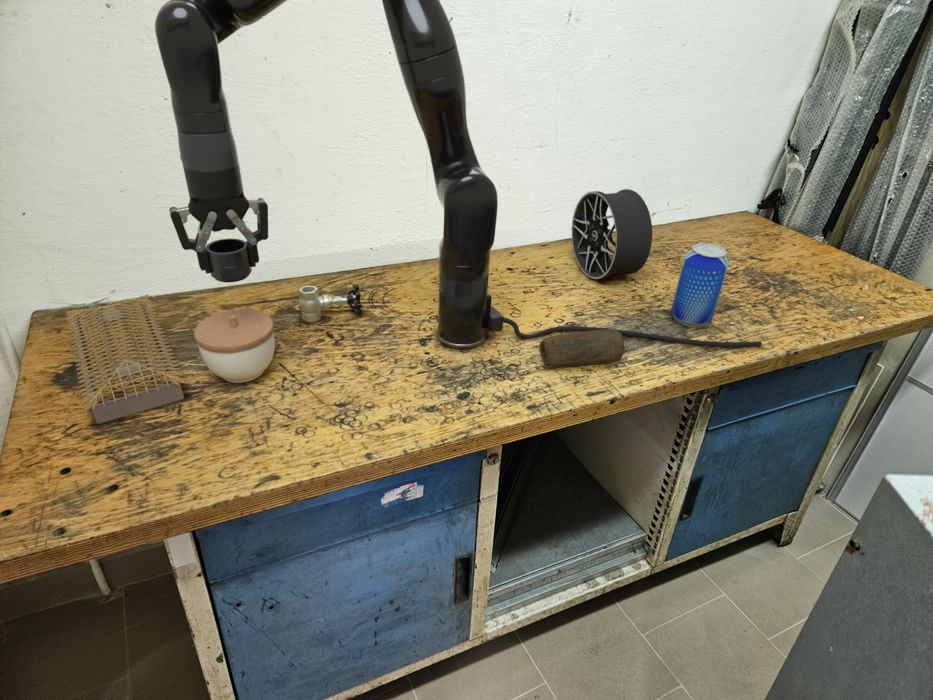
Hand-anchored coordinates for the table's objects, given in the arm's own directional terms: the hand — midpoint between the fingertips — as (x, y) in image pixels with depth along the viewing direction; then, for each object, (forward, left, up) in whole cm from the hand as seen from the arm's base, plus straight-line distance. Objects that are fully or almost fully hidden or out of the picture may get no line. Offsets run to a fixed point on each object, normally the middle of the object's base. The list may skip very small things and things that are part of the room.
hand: (230, 267), depth 93 cm
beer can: (-87, +18, -20) cm, 91 cm away
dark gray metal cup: (0, 0, -1) cm, 1 cm away
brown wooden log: (-55, +22, -20) cm, 63 cm away
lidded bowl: (+1, 0, -20) cm, 20 cm away
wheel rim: (-84, -8, -20) cm, 87 cm away
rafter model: (+19, -12, -20) cm, 30 cm away
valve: (-18, -13, -20) cm, 30 cm away
